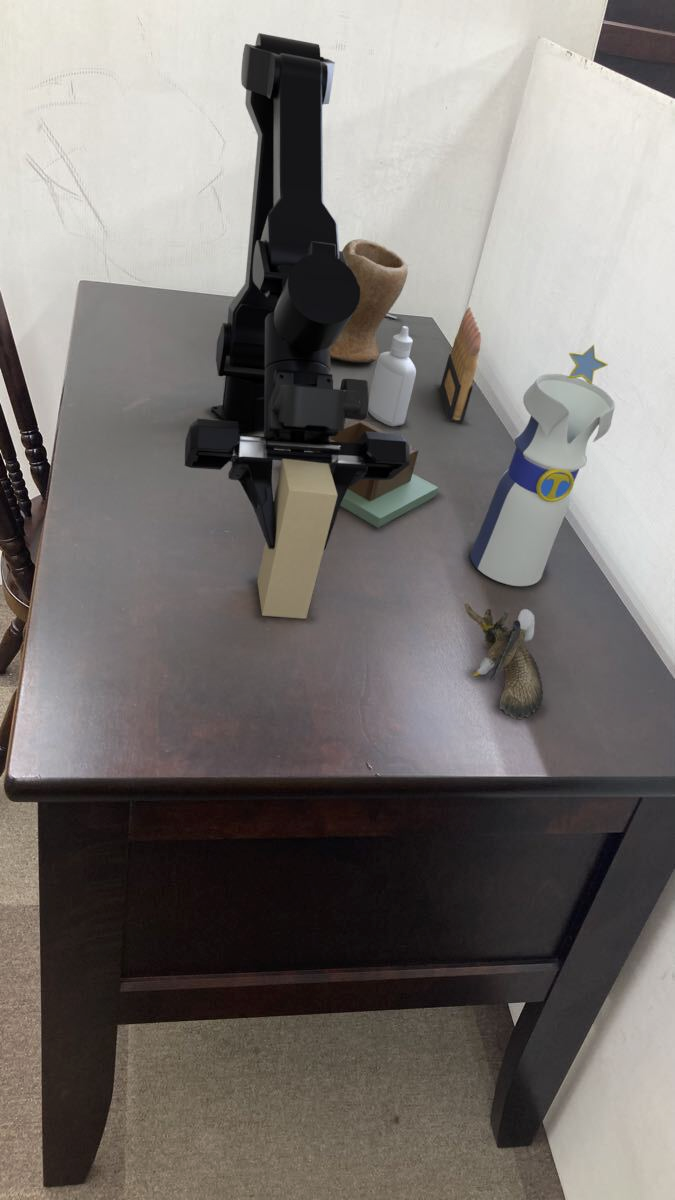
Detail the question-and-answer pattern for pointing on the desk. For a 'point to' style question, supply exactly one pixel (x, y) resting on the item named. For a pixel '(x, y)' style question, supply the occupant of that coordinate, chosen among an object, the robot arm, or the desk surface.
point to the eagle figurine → (511, 661)
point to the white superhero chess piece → (542, 473)
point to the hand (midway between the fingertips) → (297, 549)
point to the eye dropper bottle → (393, 382)
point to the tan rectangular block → (296, 538)
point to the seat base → (383, 485)
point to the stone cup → (369, 298)
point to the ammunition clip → (461, 368)
